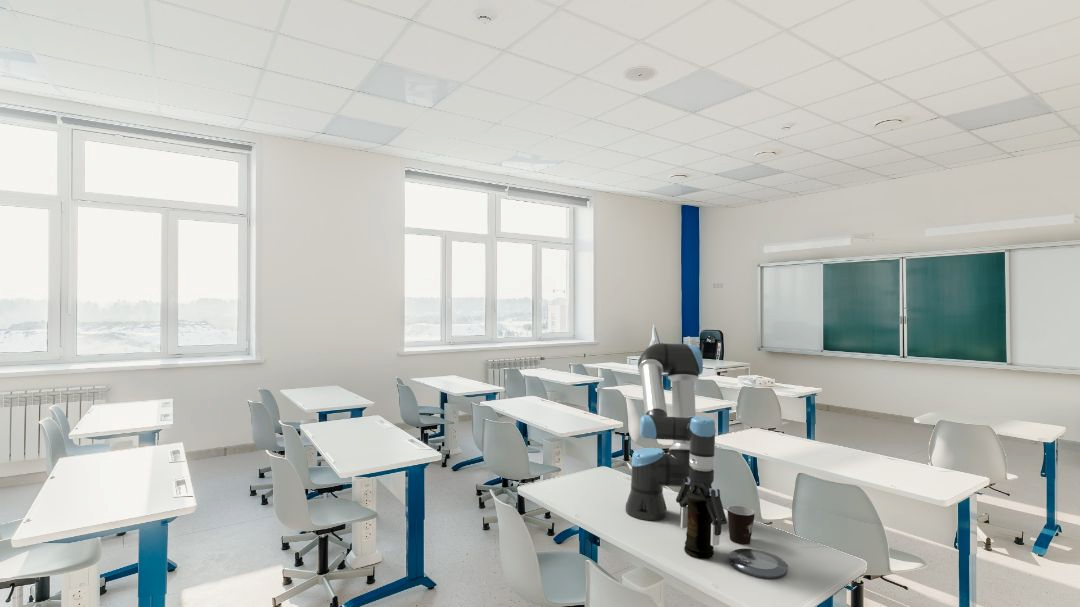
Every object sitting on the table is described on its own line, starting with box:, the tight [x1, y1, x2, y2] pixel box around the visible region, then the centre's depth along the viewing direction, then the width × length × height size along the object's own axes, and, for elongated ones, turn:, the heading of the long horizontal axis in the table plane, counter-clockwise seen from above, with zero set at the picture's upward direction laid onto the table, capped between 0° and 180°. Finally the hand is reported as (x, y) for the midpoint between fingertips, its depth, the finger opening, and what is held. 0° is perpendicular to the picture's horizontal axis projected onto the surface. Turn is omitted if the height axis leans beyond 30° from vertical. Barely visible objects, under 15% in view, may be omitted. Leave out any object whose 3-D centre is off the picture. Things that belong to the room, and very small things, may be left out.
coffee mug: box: [726, 504, 756, 546], centre depth 174 cm, size 12×9×10 cm
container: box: [683, 492, 715, 560], centre depth 164 cm, size 9×9×18 cm
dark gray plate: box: [728, 548, 788, 580], centre depth 156 cm, size 16×16×2 cm
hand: (699, 535), depth 164 cm, fingers open, 13 cm apart
